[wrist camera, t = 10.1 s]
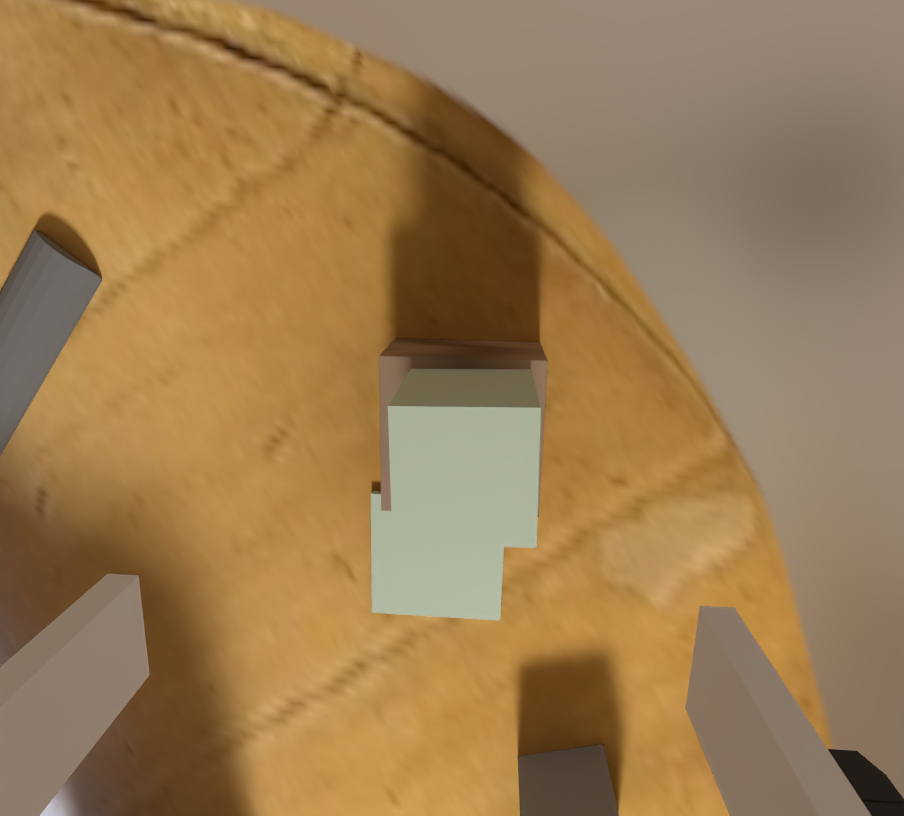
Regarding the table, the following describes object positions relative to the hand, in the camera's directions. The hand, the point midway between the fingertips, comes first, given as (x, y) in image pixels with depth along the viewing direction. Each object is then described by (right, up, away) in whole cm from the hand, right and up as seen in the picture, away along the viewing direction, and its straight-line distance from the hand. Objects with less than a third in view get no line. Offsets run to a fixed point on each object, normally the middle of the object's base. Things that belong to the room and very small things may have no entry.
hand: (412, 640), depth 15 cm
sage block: (+2, +5, +12) cm, 13 cm away
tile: (0, -2, +19) cm, 19 cm away
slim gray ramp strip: (-23, +6, +20) cm, 31 cm away
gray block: (+8, -17, +23) cm, 29 cm away
